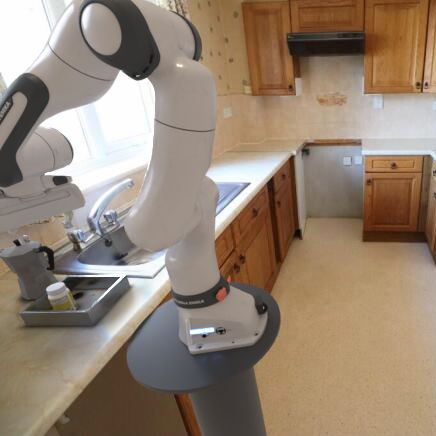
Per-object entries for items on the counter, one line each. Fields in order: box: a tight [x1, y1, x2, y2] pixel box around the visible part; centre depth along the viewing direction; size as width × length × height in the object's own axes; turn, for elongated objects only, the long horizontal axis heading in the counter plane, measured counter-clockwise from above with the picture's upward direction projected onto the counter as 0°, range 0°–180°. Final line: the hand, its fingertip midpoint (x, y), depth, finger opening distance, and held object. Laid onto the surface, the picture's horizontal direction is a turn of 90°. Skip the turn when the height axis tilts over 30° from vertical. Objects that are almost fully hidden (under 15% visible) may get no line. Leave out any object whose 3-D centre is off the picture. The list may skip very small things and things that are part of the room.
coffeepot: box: [0, 238, 60, 301], centre depth 96 cm, size 15×9×18 cm, turn 90°
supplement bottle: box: [46, 281, 78, 311], centre depth 89 cm, size 5×5×8 cm
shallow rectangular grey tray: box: [18, 274, 131, 327], centre depth 91 cm, size 19×17×4 cm
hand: (48, 235), depth 83 cm, fingers open, 8 cm apart
